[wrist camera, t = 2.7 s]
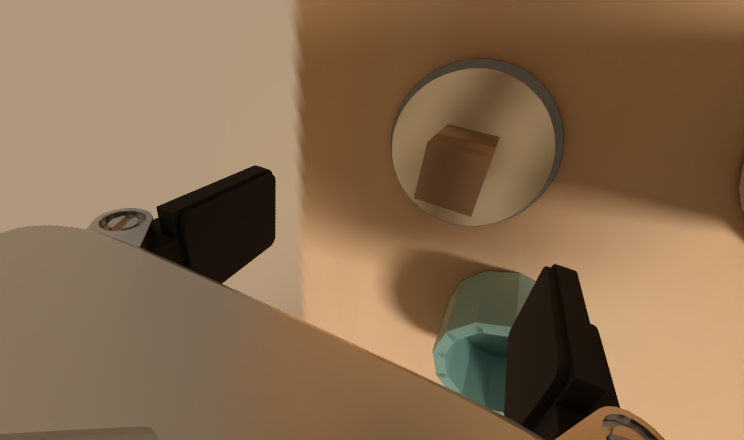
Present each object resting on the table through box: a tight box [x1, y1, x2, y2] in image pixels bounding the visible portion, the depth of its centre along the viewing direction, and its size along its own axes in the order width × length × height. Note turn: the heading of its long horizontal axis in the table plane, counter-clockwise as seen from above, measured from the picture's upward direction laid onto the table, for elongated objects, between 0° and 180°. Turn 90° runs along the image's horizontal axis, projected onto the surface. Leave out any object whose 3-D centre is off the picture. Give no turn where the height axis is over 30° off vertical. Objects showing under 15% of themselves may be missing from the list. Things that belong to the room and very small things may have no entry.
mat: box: [391, 59, 564, 222], centre depth 22 cm, size 11×11×1 cm
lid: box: [392, 68, 555, 226], centre depth 19 cm, size 10×10×6 cm
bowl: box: [433, 271, 536, 416], centre depth 24 cm, size 9×9×6 cm
